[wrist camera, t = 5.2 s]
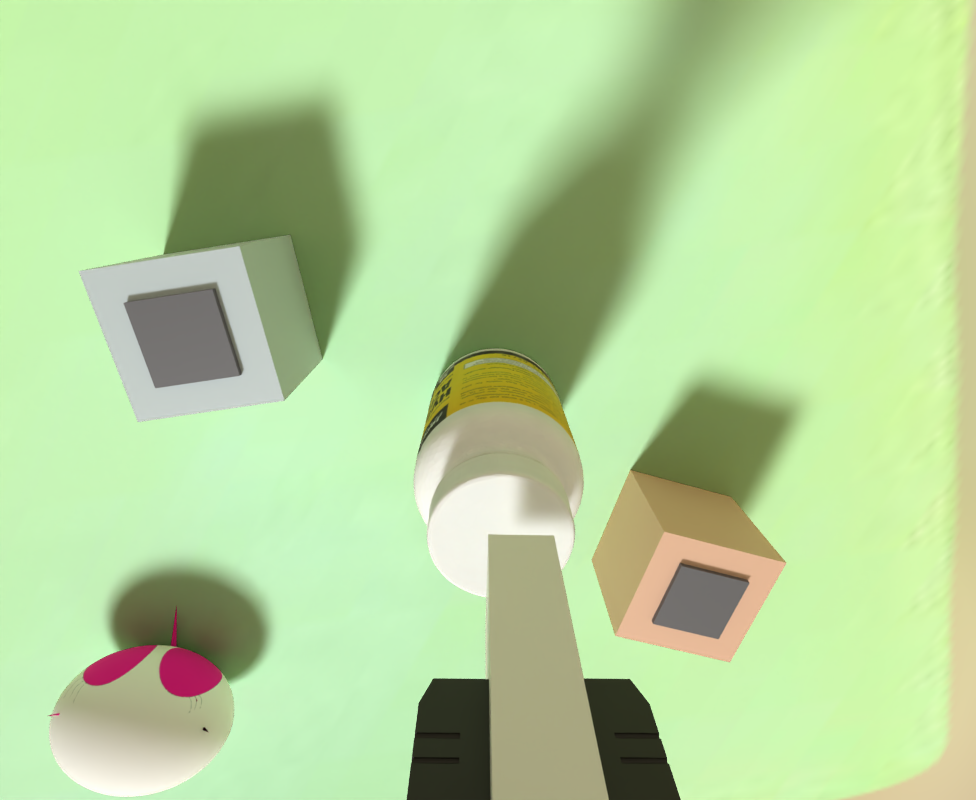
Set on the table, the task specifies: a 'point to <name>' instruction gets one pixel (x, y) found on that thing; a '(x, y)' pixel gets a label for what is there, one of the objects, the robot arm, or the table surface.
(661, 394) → the table surface
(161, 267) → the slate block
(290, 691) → the table surface
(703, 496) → the terracotta block
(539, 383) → the supplement bottle
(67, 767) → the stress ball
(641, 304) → the table surface
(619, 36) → the table surface
